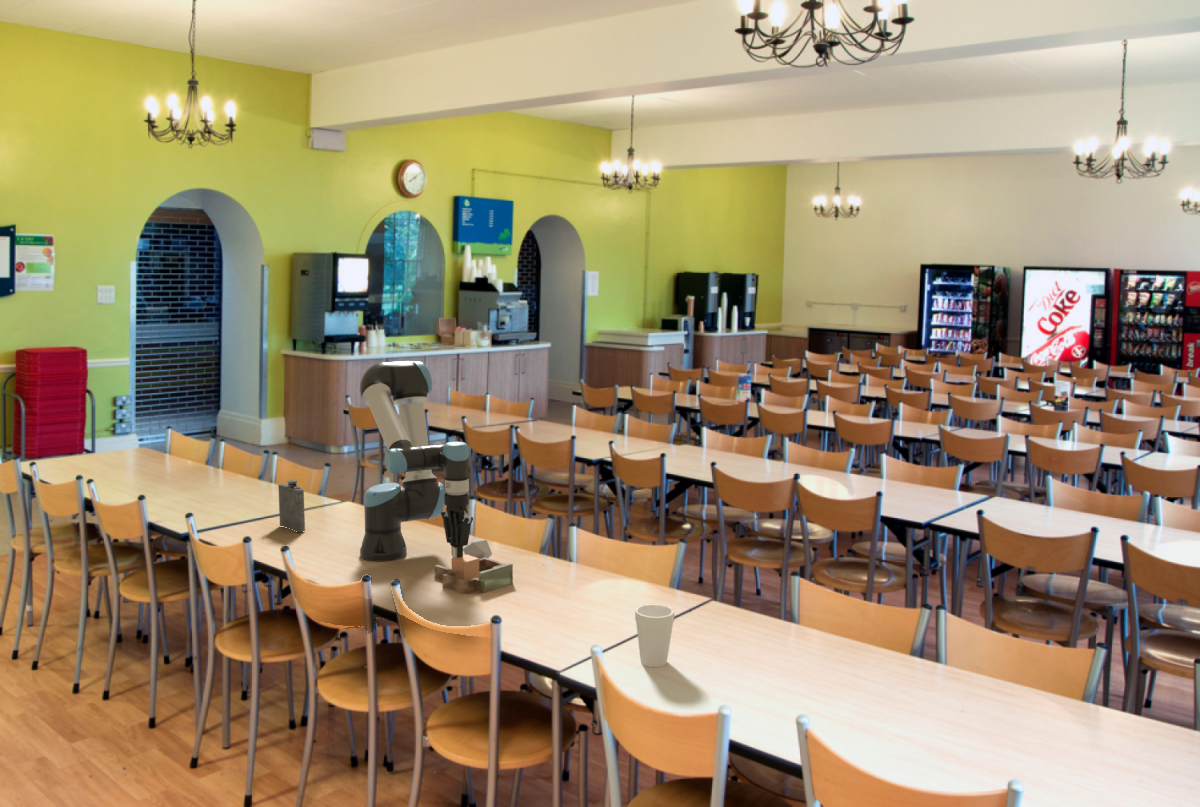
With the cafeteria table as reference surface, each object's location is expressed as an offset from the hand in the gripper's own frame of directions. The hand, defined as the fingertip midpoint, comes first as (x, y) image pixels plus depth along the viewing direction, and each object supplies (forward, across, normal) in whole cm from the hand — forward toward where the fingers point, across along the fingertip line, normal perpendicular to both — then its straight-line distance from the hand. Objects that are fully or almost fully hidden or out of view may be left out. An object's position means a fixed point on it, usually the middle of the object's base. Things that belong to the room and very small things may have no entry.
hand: (457, 566), depth 295 cm
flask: (+2, -84, -8) cm, 84 cm away
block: (+3, +4, 0) cm, 5 cm away
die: (+3, -5, +12) cm, 13 cm away
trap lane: (+3, +7, 0) cm, 8 cm away
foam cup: (+3, +86, -10) cm, 87 cm away
